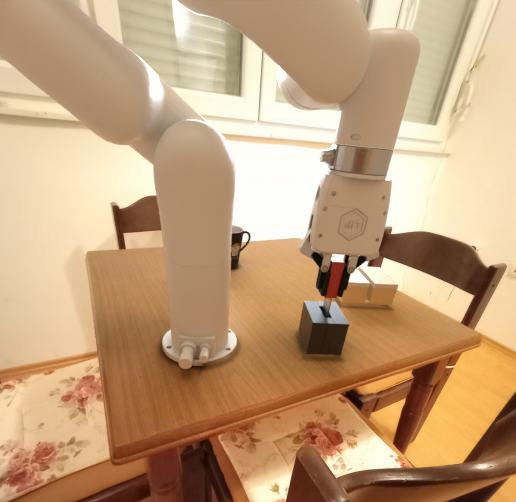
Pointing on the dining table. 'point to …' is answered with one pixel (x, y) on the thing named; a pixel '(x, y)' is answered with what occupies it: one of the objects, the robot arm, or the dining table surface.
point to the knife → (333, 283)
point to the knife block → (322, 329)
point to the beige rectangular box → (370, 287)
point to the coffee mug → (237, 245)
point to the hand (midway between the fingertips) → (329, 292)
